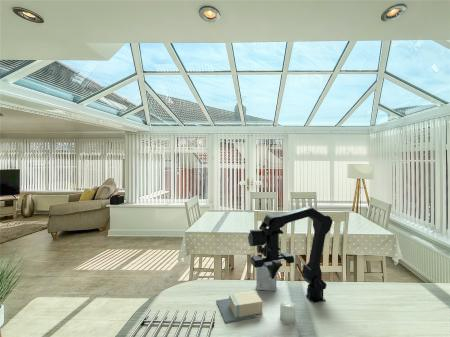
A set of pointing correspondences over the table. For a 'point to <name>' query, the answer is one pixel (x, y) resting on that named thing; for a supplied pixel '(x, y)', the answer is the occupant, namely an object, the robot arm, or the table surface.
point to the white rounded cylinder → (287, 312)
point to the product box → (265, 279)
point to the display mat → (230, 312)
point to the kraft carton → (245, 303)
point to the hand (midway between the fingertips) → (272, 278)
